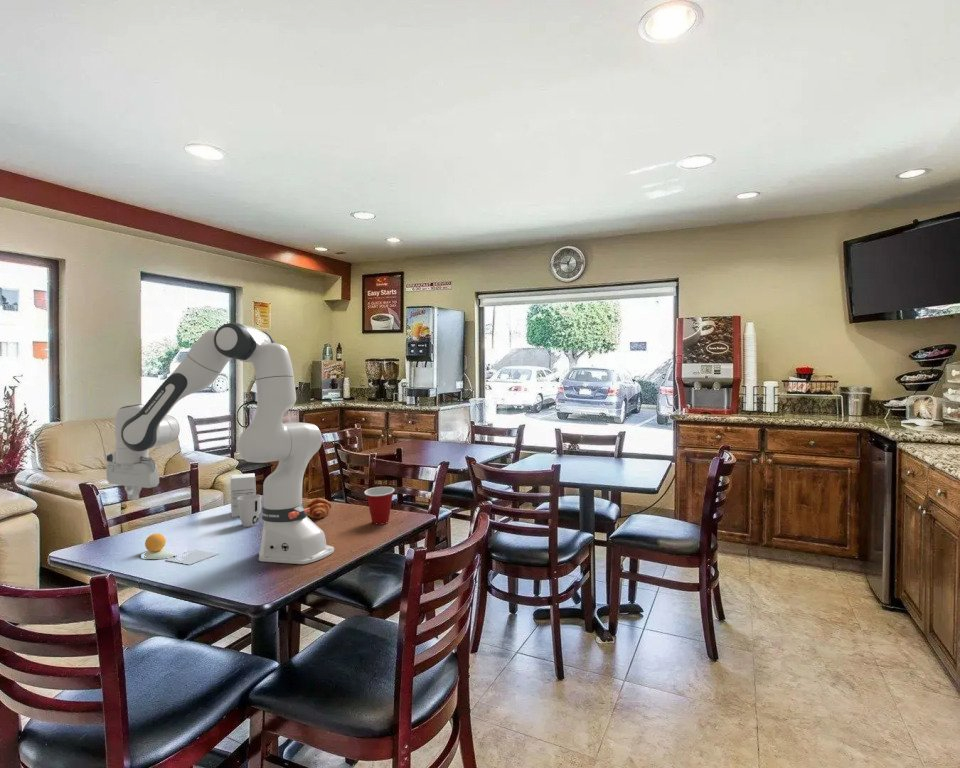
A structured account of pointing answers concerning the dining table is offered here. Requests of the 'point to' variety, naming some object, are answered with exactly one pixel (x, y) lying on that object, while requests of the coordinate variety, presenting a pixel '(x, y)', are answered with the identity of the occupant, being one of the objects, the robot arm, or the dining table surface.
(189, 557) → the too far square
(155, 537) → the ball
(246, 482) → the supplement box
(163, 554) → the disc
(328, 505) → the croissant
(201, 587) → the dining table surface
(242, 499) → the cup
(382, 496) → the plastic cup
